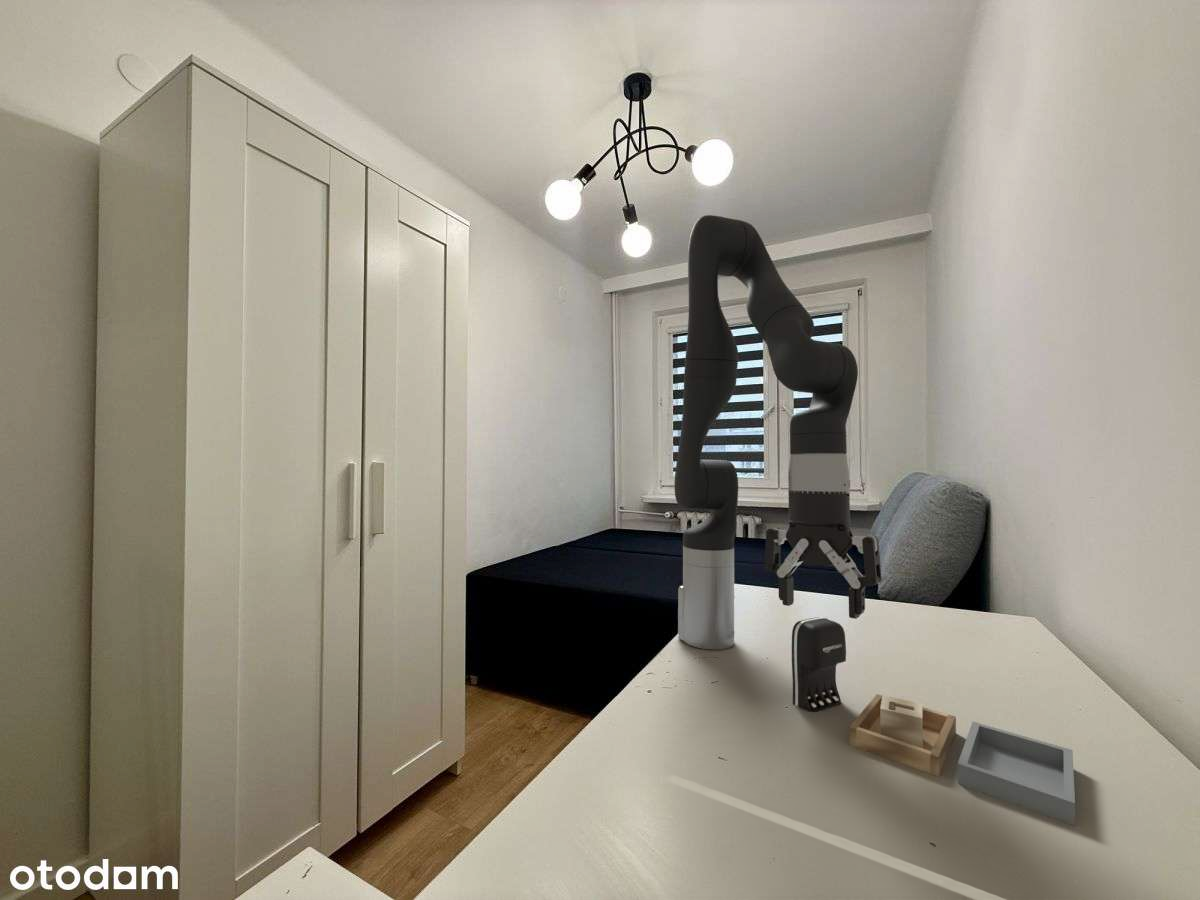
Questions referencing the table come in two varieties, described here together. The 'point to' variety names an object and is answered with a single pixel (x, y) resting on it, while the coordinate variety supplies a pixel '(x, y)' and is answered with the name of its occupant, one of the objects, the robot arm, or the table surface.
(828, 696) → the black battery charger
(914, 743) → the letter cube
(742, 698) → the table surface
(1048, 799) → the slate tray
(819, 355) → the robot arm
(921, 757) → the oak tray
